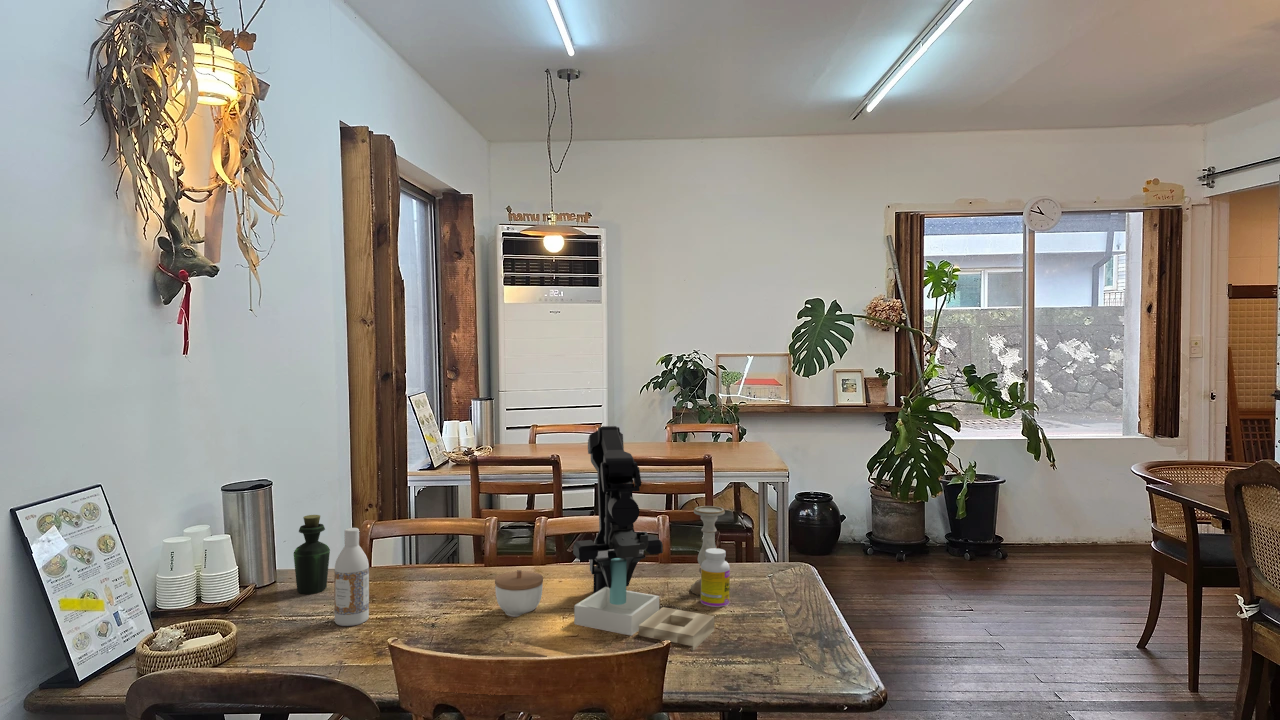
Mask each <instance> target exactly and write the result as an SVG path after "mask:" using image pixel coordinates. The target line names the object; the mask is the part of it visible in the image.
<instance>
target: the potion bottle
mask: <svg viewBox="0 0 1280 720" xmlns="http://www.w3.org/2000/svg"><path fill="white" fill-rule="evenodd" d="M302 519H303V522H304V524H303V525H301V526H300V527H299V529H298V533H299V534H300V533H301V534H303V538H304V540H305V541H304V543H302V544H300V545H299V546H297V547H296V548H295V550H294V551H293V562H294V572H295V573H294V574H295V582H296V591H297V592H298V593H299V594H302V595H313V594H318V593H322V592H323V591H325V590H326V589H327V584H328V575H329V564H330V551H331V549H330V547H329V546H328V544H327V543H324V542H321V541H319V539H320V536H321V533H322V532H324V531H325V530H326V528H325V525H324V524H323V523H320V519H321V515H320V514H307V515H305V516H303V518H302Z"/></svg>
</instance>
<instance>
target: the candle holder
mask: <svg viewBox="0 0 1280 720" xmlns="http://www.w3.org/2000/svg"><path fill="white" fill-rule="evenodd" d="M693 513H694V514H695V515H697V516H700V520H701V521H702V523H703V526H702V528H701V530H700V531H701V532H702V533H703V534H702V537H703V538H702V539H703V540H702V546H701V548H700V551H699V552H698V555H697V563H698V564H699V565H700V568H699V569H698V572H699V573H700V574H701V564H702V562H703V561H705V560H706V556H705V552H706V550H707V549H711V548H717V547H716V546H717V545H716V542H715V541H716V539H715V538H716V537H715V535H716V532H717V531H718V530H717V528H716V526H715V525H716V524H715V523H716V522H717V520H718V518H719V517H721V516H723V515H725V513H726V511H725V509H724V508H723V507H720V506H713V505H702V506H697V507H695V508H694V509H693ZM690 592H691V593H692V594H694V595H696V596H700V597H701V578H699V579H696V580H695V582H694V583H692V584H691V586H690Z"/></svg>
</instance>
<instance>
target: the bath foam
mask: <svg viewBox="0 0 1280 720" xmlns="http://www.w3.org/2000/svg"><path fill="white" fill-rule="evenodd" d="M343 546H344V547H343V548H342V550H341V551H340V553H339V554H338V556H337V558H336V560H335V564H334V575H333V577H334V584H333V585H334V587H333V589H334V594H333V595H334V597H333V598H334V602H333V603H334V608H333V609H334V623H335V624H336V625H338V626H341V627H353V626H357V625H362V624H363V623H365V622H367V621H368V620H369V618H370V613H369V612H370V565H369V559H368V557H367V555H366V553H365V552H364V550H363V548H362V547H361V546H360V529H359V528H358V527H349V528H345V529H344V545H343Z"/></svg>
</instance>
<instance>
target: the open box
mask: <svg viewBox="0 0 1280 720" xmlns="http://www.w3.org/2000/svg"><path fill="white" fill-rule="evenodd" d="M658 610H660V595H656V594H650V593H643V592H638V591H633V590H627V589H626V603H625V604H621V605H615V604H611V603H610V588H608V587H604V588H603V589H601V590H599V591H598V592H596V593H593V594H591V595H589V596H587V597H585V599H583V600H581V601H580V602H577V603H576V604H574V614H573V615H574V617H573V618H574V625H577V626H582V627H586V628H592V629H596V630H597V629H598V630H601V631H607V632H612V633H617V634H621V635H626V636H630V637H632V636H634V635H635V634H636V633H638V632H639V625H640V624H641V623H643V622H644V621H645V620H647V619H648V618H649V617H650V616H652V615H653V614H654V613H656V612H657V611H658Z"/></svg>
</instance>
